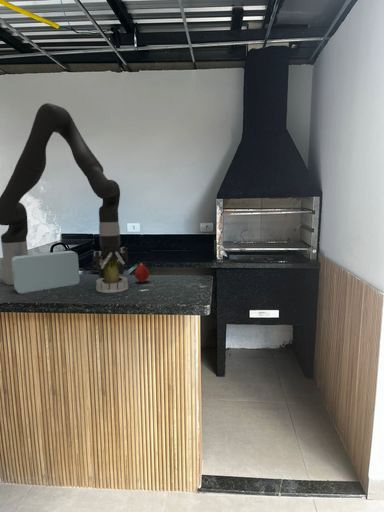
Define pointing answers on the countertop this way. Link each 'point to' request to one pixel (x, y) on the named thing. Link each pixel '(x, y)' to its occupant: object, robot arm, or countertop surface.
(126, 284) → the white low ring
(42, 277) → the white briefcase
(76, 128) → the robot arm
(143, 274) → the onion
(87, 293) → the countertop surface
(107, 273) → the fennel bulb
